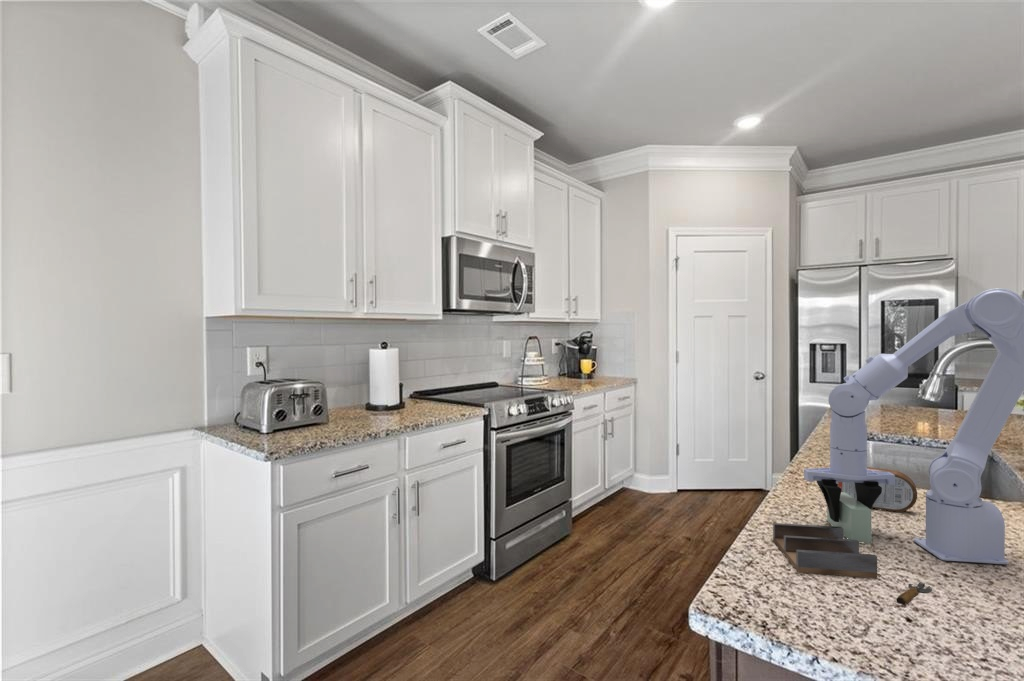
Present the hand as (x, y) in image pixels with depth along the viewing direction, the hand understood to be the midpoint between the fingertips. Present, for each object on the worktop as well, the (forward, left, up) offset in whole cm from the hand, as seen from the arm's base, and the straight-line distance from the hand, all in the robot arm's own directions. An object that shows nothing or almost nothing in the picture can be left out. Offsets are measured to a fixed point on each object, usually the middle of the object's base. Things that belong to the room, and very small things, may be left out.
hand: (848, 520), depth 94 cm
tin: (-11, -15, -2) cm, 19 cm away
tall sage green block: (0, 0, -2) cm, 2 cm away
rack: (+10, +13, -2) cm, 16 cm away
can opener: (+1, +23, -3) cm, 23 cm away
